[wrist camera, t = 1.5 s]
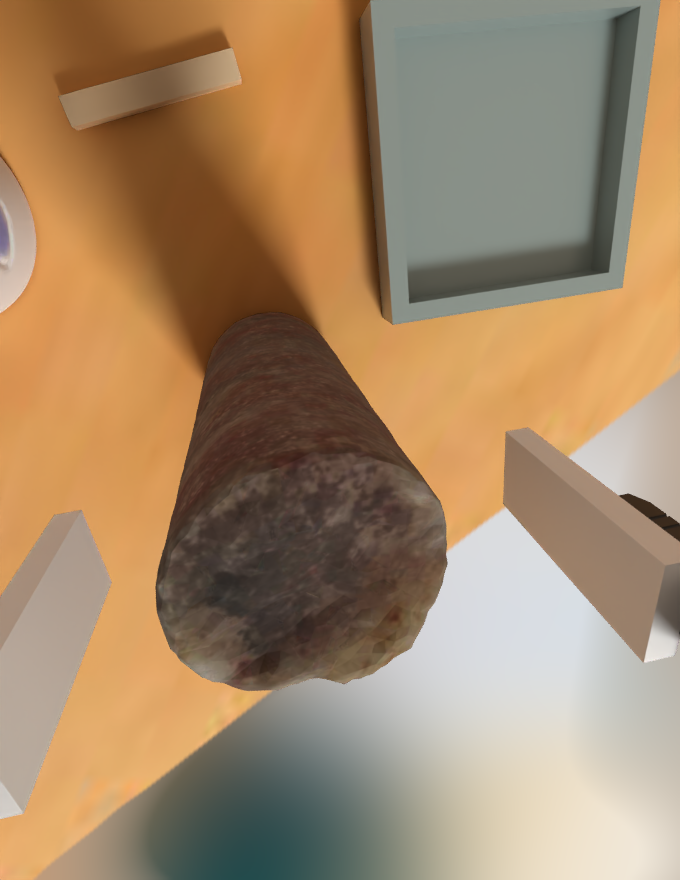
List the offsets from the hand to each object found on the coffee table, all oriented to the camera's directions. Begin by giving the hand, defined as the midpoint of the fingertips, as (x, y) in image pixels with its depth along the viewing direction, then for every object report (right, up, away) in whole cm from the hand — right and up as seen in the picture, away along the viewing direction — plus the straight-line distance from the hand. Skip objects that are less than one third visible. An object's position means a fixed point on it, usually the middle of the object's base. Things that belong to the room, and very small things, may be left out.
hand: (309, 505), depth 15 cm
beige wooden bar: (-8, +18, +8) cm, 21 cm away
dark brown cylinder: (-3, +6, +14) cm, 16 cm away
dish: (+10, +17, +11) cm, 23 cm away
